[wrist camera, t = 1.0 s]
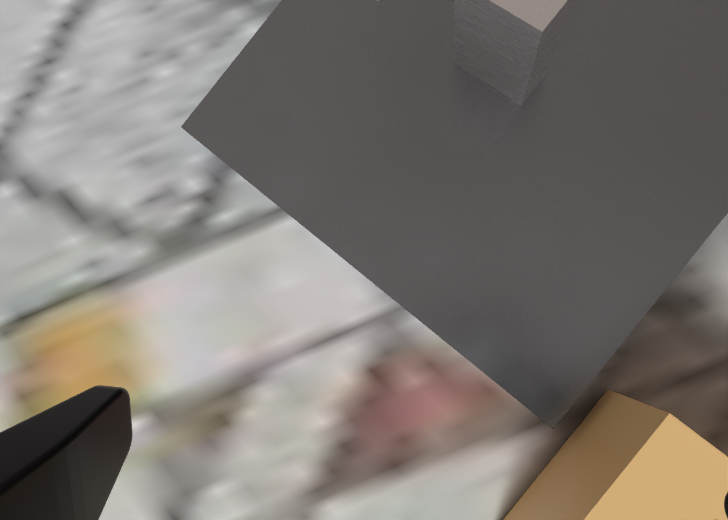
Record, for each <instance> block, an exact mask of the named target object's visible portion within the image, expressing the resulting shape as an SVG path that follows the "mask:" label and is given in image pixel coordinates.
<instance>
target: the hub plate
mask: <svg viewBox="0 0 728 520" xmlns="http://www.w3.org/2000/svg"><path fill="white" fill-rule="evenodd" d="M181 127H182V128H183V129H184V130H185V131H187V132H188V133H189V134H190V135H192V136H193V137H194V138H195V139H196V140H198V141H199V142H200V143H201V144H203V145H204V146H205V147H206V148H208V149H209V150H210V151H211V152H212V153H214V154H215V155H216V156H217V157H219V158H220V159H221V160H222V161H224V162H225V163H226V164H227V165H229V166H230V167H231V168H232V169H233V170H235V171H236V172H237V173H238V174H240V175H241V176H242V177H243V178H245V179H246V180H247V181H248V182H249V183H251V184H252V185H253V186H254V187H256V188H257V189H258V190H259V191H261V192H262V193H263V194H264V195H265V196H267V197H268V198H269V199H270V200H272V201H273V202H274V203H275V204H277V205H278V206H279V207H280V208H282V209H283V210H284V211H285V212H286V213H288V214H289V215H290V216H291V217H293V218H294V219H295V220H296V221H298V222H299V223H300V224H301V225H302V226H304V227H305V228H306V229H307V230H309V231H310V232H311V233H312V234H314V235H315V236H316V237H317V238H319V239H320V240H321V241H322V242H323V243H325V244H326V245H327V246H328V247H330V248H331V249H332V250H333V251H335V252H336V253H337V254H338V255H339V256H341V257H342V258H343V259H344V260H346V261H347V262H348V263H349V264H351V265H352V266H353V267H354V268H355V269H357V270H358V271H359V272H360V273H362V274H363V275H364V276H365V277H367V278H368V279H369V280H370V281H372V282H373V283H374V284H375V285H376V286H378V287H379V288H380V289H381V290H383V291H384V292H385V293H386V294H388V295H389V296H390V297H391V298H392V299H394V300H395V301H396V302H397V303H399V304H400V305H401V306H402V307H404V308H405V309H406V310H407V311H408V312H410V313H411V314H412V315H413V316H415V317H416V318H417V319H418V320H420V321H421V322H422V323H423V324H425V325H426V326H427V327H428V328H429V329H431V330H432V331H433V332H434V333H436V334H437V335H438V336H439V337H441V338H442V339H443V340H444V341H445V342H447V343H448V344H449V345H450V346H452V347H453V348H454V349H455V350H457V351H458V352H459V353H460V354H461V355H463V356H464V357H465V358H466V359H468V360H469V361H470V362H471V363H473V364H474V365H475V366H476V367H478V368H479V369H480V370H481V371H482V372H484V373H485V374H486V375H487V376H489V377H490V378H491V379H492V380H494V381H495V382H496V383H497V384H498V385H500V386H501V387H502V388H503V389H505V390H506V391H507V392H508V393H510V394H511V395H512V396H513V397H514V398H516V399H517V400H518V401H519V402H521V403H522V404H523V405H524V406H526V407H527V408H528V409H529V410H531V411H532V412H533V413H534V414H535V415H537V416H538V417H539V418H540V419H542V420H543V421H544V422H545V423H547V424H548V425H549V426H550V427H551V428H553V429H554V428H555V426H556V425H557V424H558V423H559V422H560V420H561V419H562V418H563V417H564V415H565V414H566V413H567V412H568V410H569V409H570V408H571V407H572V405H573V404H574V403H575V402H576V400H577V399H578V398H579V397H580V395H581V394H582V393H583V392H584V390H585V389H586V388H587V387H588V385H589V384H590V383H591V382H592V380H593V379H594V378H595V377H596V376H597V374H598V373H599V372H600V371H601V369H602V368H603V367H604V366H605V364H606V363H607V362H608V361H609V359H610V358H611V357H612V356H613V354H614V353H615V352H616V351H617V349H618V348H619V347H620V346H621V344H622V343H623V342H624V341H625V339H626V338H627V337H628V336H629V334H630V333H631V332H632V331H633V330H634V328H635V327H636V326H637V325H638V323H639V322H640V321H641V320H642V318H643V317H644V316H645V315H646V313H647V312H648V311H649V310H650V308H651V307H652V306H653V305H654V303H655V302H656V301H657V300H658V298H659V297H660V296H661V295H662V293H663V292H664V291H665V290H666V288H667V287H668V286H669V285H670V284H671V282H672V281H673V280H674V279H675V277H676V276H677V275H678V274H679V272H680V271H681V270H682V269H683V267H684V266H685V265H686V264H687V262H688V261H689V260H690V259H691V257H692V256H693V255H694V254H695V252H696V251H697V250H698V249H699V247H700V246H701V245H702V244H703V242H704V241H705V240H706V239H707V237H708V236H709V235H710V234H711V233H712V231H713V230H714V229H715V228H716V226H717V225H718V224H719V223H720V221H721V220H722V219H723V218H724V216H725V215H726V214H727V213H728V0H282V1H281V2H280V3H279V5H278V6H277V7H276V8H275V10H274V11H273V12H272V13H271V15H270V16H269V17H268V18H267V20H266V21H265V22H264V23H263V25H262V26H261V27H260V28H259V30H258V31H257V32H256V33H255V35H254V36H253V37H252V38H251V40H250V41H249V42H248V44H247V45H246V46H245V47H244V49H243V50H242V51H241V52H240V54H239V55H238V56H237V57H236V59H235V60H234V61H233V62H232V64H231V65H230V66H229V67H228V69H227V70H226V71H225V72H224V74H223V75H222V76H221V77H220V79H219V80H218V81H217V82H216V84H215V85H214V86H213V88H212V89H211V90H210V91H209V93H208V94H207V95H206V96H205V98H204V99H203V100H202V101H201V103H200V104H199V105H198V106H197V108H196V109H195V110H194V111H193V113H192V114H191V115H190V116H189V118H188V119H187V120H186V121H185V123H184V124H183V125H182V126H181Z"/></svg>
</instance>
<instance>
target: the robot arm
mask: <svg viewBox="0 0 728 520" xmlns="http://www.w3.org/2000/svg"><path fill="white" fill-rule="evenodd" d="M131 442H132V422H131V408H130V397H129V393H128V391H127V390H126V389H124V388H121V387H112V386H102V385H99V386H95V387H92V388H90V389H88V390H86V391H84V392H82V393H80V394H78V395H76V396H74V397H72V398H70V399H68V400H66V401H63V402H61V403H59V404H57V405H55V406H53V407H51V408H49V409H47V410H45V411H43V412H41V413H39V414H37V415H35V416H33V417H31V418H29V419H27V420H25V421H23V422H21V423H19V424H17V425H15V426H13V427H10V428H8V429H6V430H4V431H2V432H0V520H98V519H99V517H100V515H101V513H102V510H103V508H104V506H105V504H106V501H107V499H108V497H109V495H110V492H111V490H112V488H113V486H114V484H115V481H116V479H117V477H118V475H119V472H120V470H121V468H122V466H123V463H124V461H125V459H126V457H127V454H128V452H129V449H130V446H131ZM724 509H725V513H726V516H727V519H728V492H727V494H726V496H725V500H724Z"/></svg>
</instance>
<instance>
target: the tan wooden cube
mask: <svg viewBox="0 0 728 520" xmlns="http://www.w3.org/2000/svg"><path fill="white" fill-rule="evenodd" d="M727 492H728V457H727V456H726V455H725V454H723V453H722V452H721V451H719V450H718V449H717V448H715V447H714V446H713V445H711V444H710V443H709V442H707V441H706V440H705V439H703V438H702V437H701V436H699V435H698V434H697V433H695V432H694V431H693V430H691V429H690V428H689V427H687V426H686V425H685V424H683V423H682V422H681V421H679V420H678V419H677V418H676V417H674V416H673V415H672V414H670V413H668V412H666V411H663V410H660V409H658V408H655V407H653V406H650V405H647V404H645V403H642V402H640V401H637V400H635V399H632V398H629V397H627V396H624V395H622V394H619V393H616V392H614V391H611V390H609V389H608V390H607V391H606V392H605V394H604V395H603V396H602V397H601V399H600V400H599V401H598V402H597V404H596V405H595V406H594V407H593V409H592V410H591V411H590V412H589V414H588V415H587V416H586V417H585V419H584V420H583V421H582V422H581V423H580V425H579V426H578V427H577V428H576V430H575V431H574V432H573V433H572V435H571V436H570V437H569V438H568V440H567V441H566V442H565V443H564V445H563V446H562V447H561V448H560V450H559V451H558V452H557V453H556V455H555V456H554V457H553V458H552V460H551V461H550V462H549V463H548V464H547V466H546V467H545V468H544V469H543V471H542V472H541V473H540V474H539V476H538V477H537V478H536V479H535V481H534V482H533V483H532V484H531V486H530V487H529V488H528V489H527V491H526V492H525V493H524V494H523V496H522V497H521V498H520V499H519V501H518V502H517V503H516V504H515V506H514V507H513V508H512V509H511V510H510V512H509V513H508V514H507V515H506V517H505V518H504V519H503V520H728V519H727V516H726V513H725V509H724V500H725V496H726V494H727Z"/></svg>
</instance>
